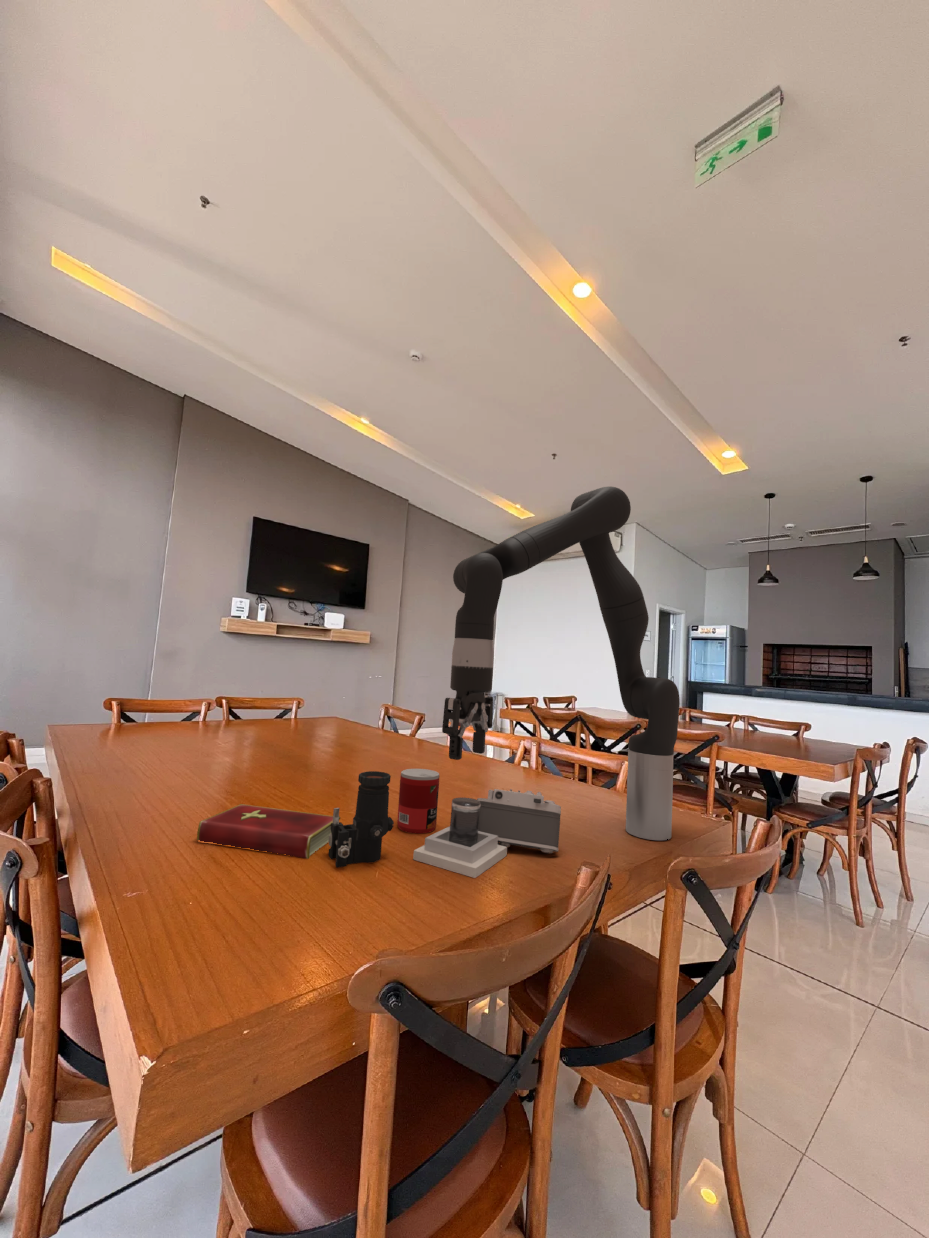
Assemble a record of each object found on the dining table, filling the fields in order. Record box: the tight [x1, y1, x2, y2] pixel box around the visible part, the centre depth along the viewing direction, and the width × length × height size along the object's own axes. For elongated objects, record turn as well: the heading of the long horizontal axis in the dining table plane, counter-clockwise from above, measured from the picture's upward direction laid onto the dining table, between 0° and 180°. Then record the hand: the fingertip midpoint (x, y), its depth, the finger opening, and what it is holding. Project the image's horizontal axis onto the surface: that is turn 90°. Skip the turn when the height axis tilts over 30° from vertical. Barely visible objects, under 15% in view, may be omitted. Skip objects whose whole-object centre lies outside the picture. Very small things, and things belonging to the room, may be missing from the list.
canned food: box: [396, 768, 440, 835], centre depth 104 cm, size 8×8×11 cm
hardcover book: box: [196, 803, 341, 860], centre depth 92 cm, size 12×21×4 cm, turn 79°
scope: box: [327, 770, 394, 868], centre depth 86 cm, size 8×14×10 cm
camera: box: [476, 788, 562, 855], centre depth 98 cm, size 9×16×10 cm, turn 83°
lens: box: [449, 797, 481, 847], centre depth 90 cm, size 5×5×8 cm
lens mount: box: [412, 825, 508, 879], centre depth 89 cm, size 12×12×4 cm
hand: (467, 755), depth 90 cm, fingers open, 8 cm apart
